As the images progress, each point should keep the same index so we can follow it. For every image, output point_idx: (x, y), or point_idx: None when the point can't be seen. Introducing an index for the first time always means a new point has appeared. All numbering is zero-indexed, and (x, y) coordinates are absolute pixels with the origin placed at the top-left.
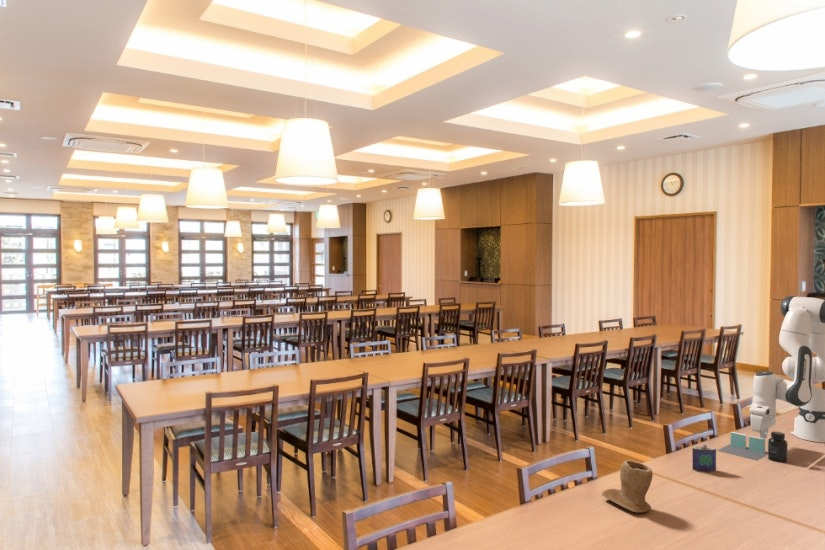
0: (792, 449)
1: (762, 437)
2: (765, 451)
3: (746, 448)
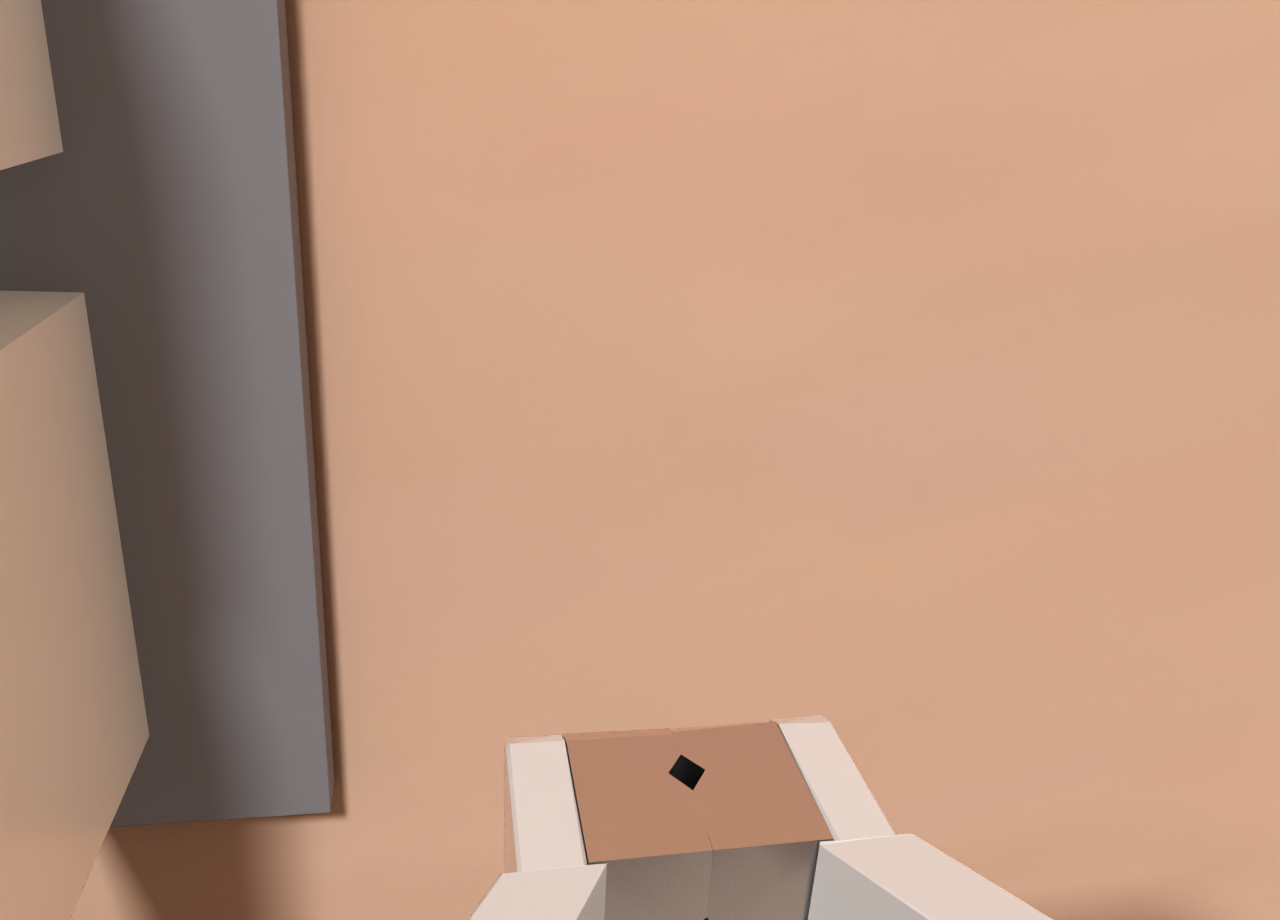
0: (1124, 901)
1: (510, 844)
2: (291, 698)
3: (27, 168)
